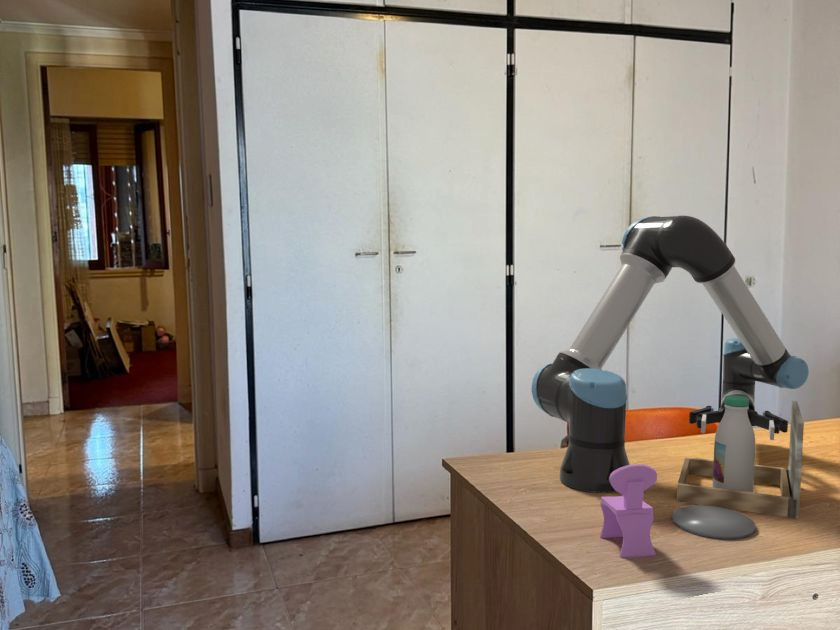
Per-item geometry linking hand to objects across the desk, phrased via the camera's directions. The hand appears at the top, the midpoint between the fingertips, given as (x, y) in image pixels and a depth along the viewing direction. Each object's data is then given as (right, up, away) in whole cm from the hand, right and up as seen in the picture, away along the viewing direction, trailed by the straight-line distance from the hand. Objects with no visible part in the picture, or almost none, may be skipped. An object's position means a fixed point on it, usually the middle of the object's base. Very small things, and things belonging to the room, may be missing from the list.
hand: (737, 430), depth 157 cm
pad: (-14, -13, -23) cm, 30 cm away
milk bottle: (-4, -12, -7) cm, 14 cm away
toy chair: (-33, -15, -32) cm, 48 cm away
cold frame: (-4, -12, -7) cm, 14 cm away
